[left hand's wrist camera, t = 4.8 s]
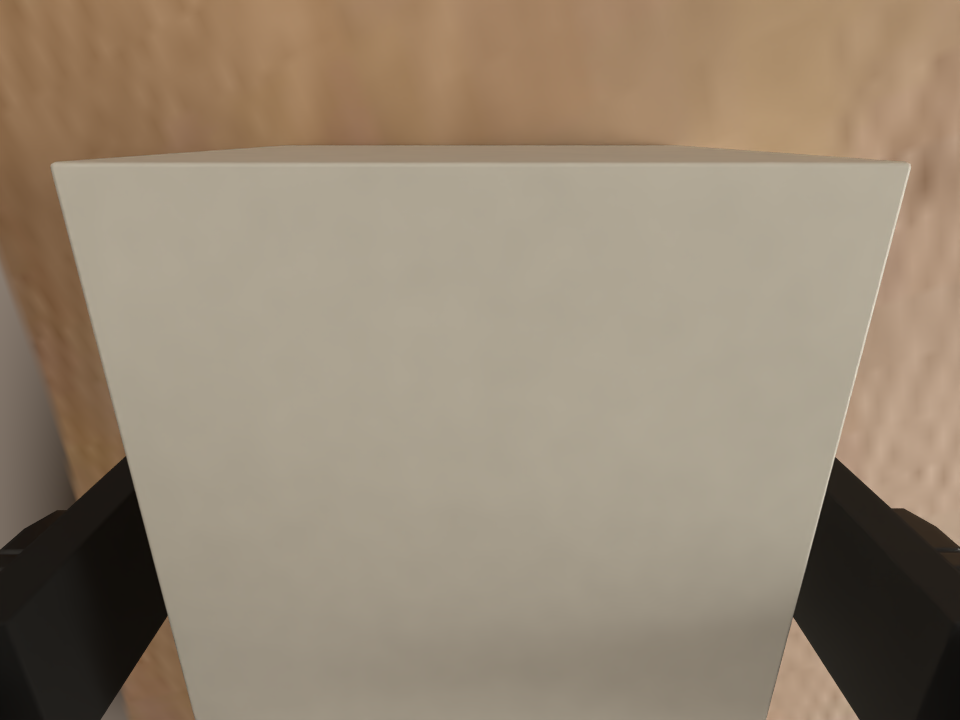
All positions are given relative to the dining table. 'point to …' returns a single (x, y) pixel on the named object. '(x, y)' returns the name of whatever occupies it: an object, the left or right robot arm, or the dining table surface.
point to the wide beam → (480, 415)
